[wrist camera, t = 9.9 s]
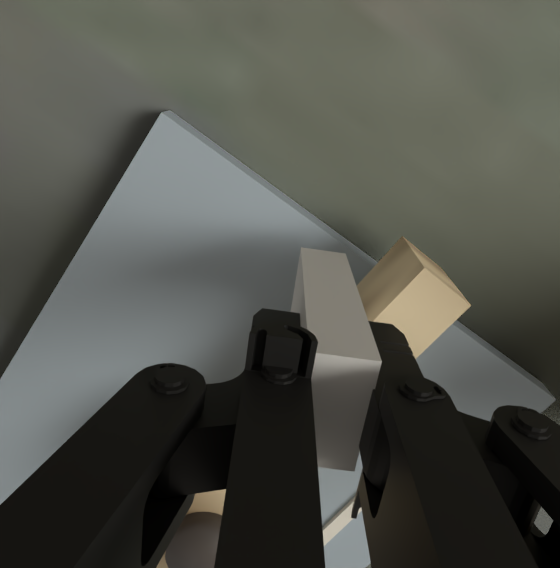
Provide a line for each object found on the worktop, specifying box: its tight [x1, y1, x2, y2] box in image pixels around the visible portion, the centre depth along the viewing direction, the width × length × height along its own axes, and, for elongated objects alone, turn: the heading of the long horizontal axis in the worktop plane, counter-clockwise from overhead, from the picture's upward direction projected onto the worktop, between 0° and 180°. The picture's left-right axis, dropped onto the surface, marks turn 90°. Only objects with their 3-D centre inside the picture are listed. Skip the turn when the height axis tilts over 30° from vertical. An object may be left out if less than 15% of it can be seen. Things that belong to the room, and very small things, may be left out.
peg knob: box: [156, 236, 471, 568], centre depth 18 cm, size 19×6×5 cm, turn 142°
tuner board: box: [0, 110, 556, 568], centre depth 21 cm, size 20×18×1 cm
